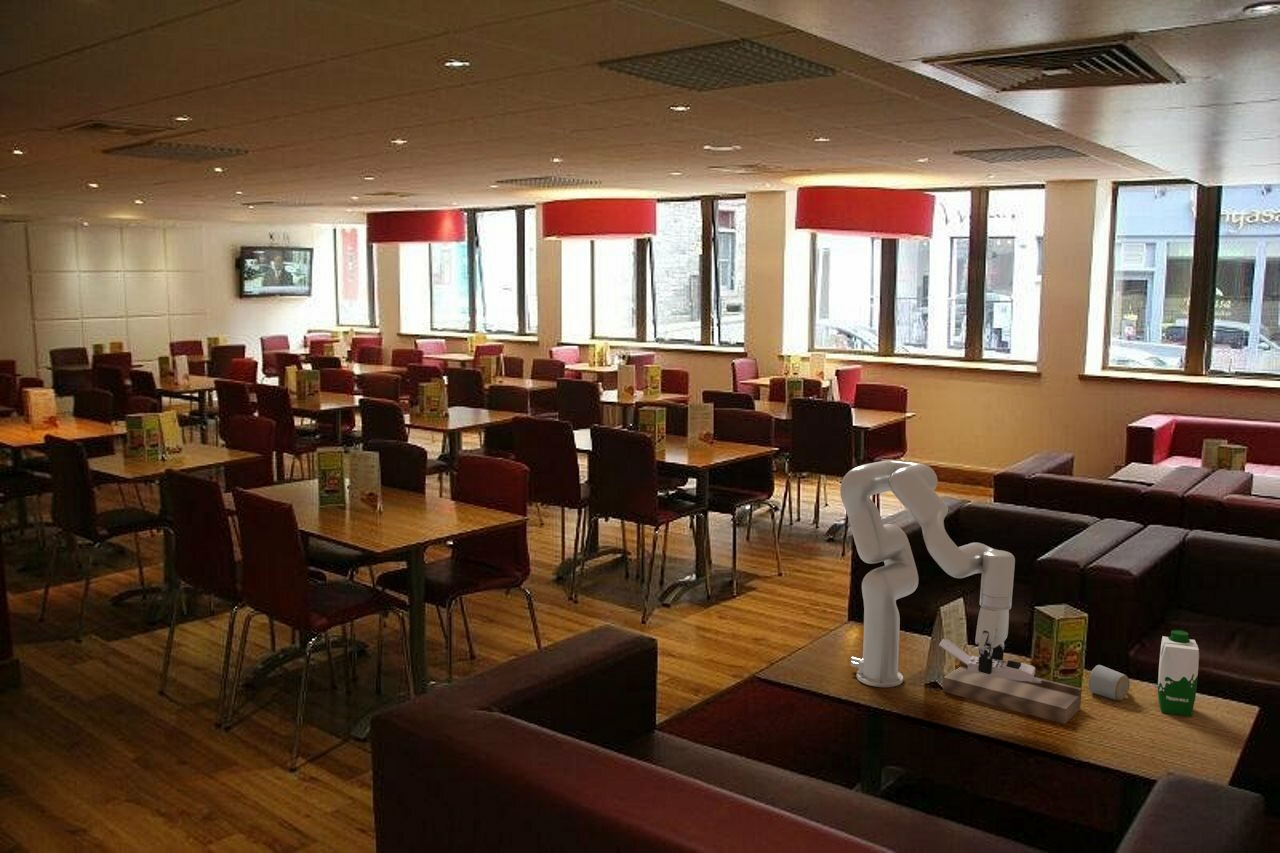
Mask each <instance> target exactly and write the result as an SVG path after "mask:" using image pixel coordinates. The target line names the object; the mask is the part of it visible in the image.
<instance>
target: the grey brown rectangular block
mask: <svg viewBox="0 0 1280 853" xmlns="http://www.w3.org/2000/svg"><path fill="white" fill-rule="evenodd" d="M958 667H959V666H958ZM955 669H956V668H955ZM953 670H954V669H953ZM953 670H951V671H950V672H951V673H950V672H949V673H948V674H946V675H945V676H944V677H943V679H942V681H943V684H942V685H943V686H942V692H943V693H947V694H951V695H953V696H959V697H963V698H966V699H970V700H974V701H978V702H980V703H981V702H982V703H984V704H989V705H992V706H996V707H1000V708H1003V709H1008V710H1010V711H1015V712H1019V713H1022V714H1027V715H1029V716H1033V717H1038V718H1040V719H1041V718H1042V719H1044V720H1048V721H1052V722H1055V721H1056V722H1057V723H1059V722H1060V724H1064V725H1065V724H1067V723H1068V722H1069V721H1070V720H1071V718H1073V717H1074V716H1075V714H1077V713H1078V711H1079V710H1081V705H1082V704H1081V703H1082V702H1081V701H1082V687H1078V686H1072V685H1071V684H1070V685H1069V684H1064V683H1060V682H1058V681H1053V680H1049V679H1044V678H1041V677H1036V676H1034V677H1033V679H1038V680H1041V683H1035V682H1029V681H1016V680H1010V679H1005V678H999V677H994V676H989V675H984V674H979V673H974V672H969V671H968V665H966V664H965V663H963V662H962V661H961V667H959V668H958V669H956V670H954V671H953Z"/></svg>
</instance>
